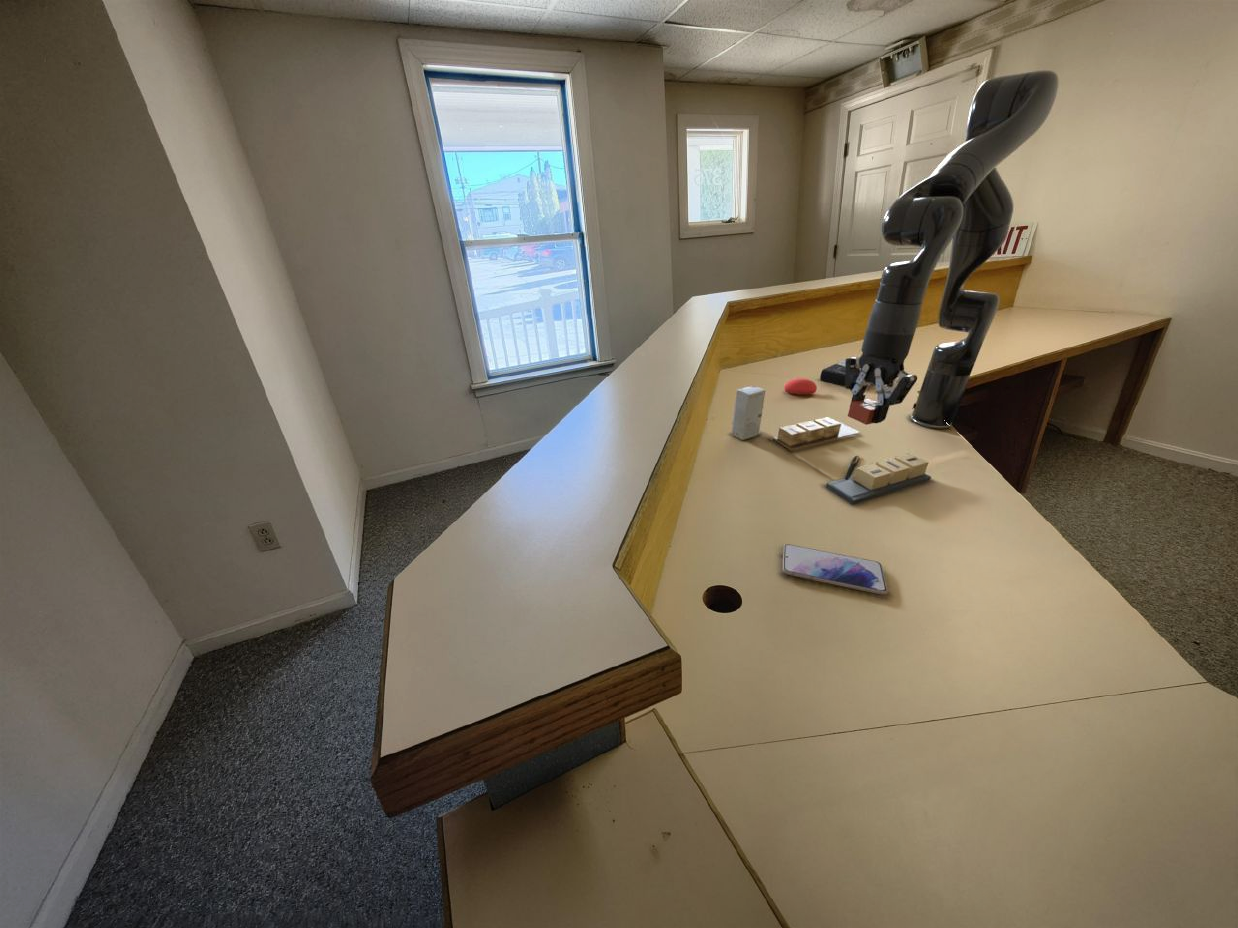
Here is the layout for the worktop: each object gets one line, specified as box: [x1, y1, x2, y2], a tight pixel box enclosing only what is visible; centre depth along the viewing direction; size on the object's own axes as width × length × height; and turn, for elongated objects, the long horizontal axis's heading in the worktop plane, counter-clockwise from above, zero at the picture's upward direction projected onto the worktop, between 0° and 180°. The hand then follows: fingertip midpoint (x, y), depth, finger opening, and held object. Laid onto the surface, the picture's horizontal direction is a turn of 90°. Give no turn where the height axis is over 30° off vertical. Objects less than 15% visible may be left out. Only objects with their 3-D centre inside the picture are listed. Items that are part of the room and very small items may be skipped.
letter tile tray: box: [771, 416, 861, 453], centre depth 113 cm, size 22×7×4 cm, turn 113°
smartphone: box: [782, 543, 888, 596], centre depth 72 cm, size 7×1×15 cm
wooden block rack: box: [825, 452, 932, 505], centre depth 94 cm, size 22×7×4 cm, turn 113°
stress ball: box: [783, 377, 818, 396], centre depth 140 cm, size 5×9×6 cm
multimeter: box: [819, 358, 861, 387], centre depth 152 cm, size 13×19×5 cm
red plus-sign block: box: [847, 398, 878, 425], centre depth 87 cm, size 4×4×3 cm
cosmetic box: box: [731, 385, 766, 441], centre depth 113 cm, size 6×4×12 cm
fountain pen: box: [844, 454, 860, 480], centre depth 99 cm, size 14×1×2 cm, turn 145°
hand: (865, 417), depth 88 cm, fingers closed on red plus-sign block, 4 cm apart
